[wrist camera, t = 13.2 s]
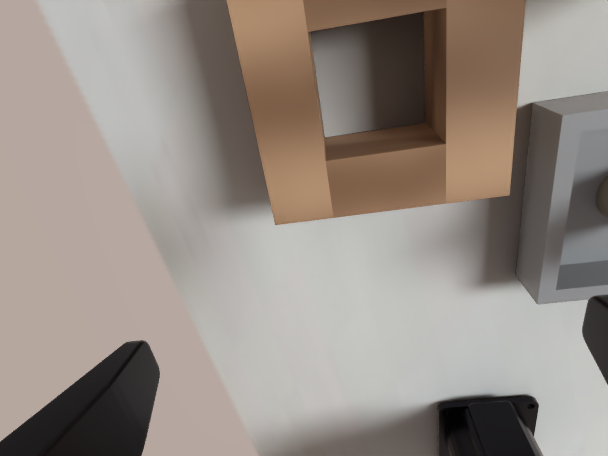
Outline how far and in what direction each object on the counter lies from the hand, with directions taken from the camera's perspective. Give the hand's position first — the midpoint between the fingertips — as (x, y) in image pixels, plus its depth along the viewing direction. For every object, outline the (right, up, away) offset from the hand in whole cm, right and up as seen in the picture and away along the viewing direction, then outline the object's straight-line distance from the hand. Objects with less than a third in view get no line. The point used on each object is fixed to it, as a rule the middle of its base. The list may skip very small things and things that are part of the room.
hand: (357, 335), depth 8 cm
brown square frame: (+2, +9, +10) cm, 13 cm away
